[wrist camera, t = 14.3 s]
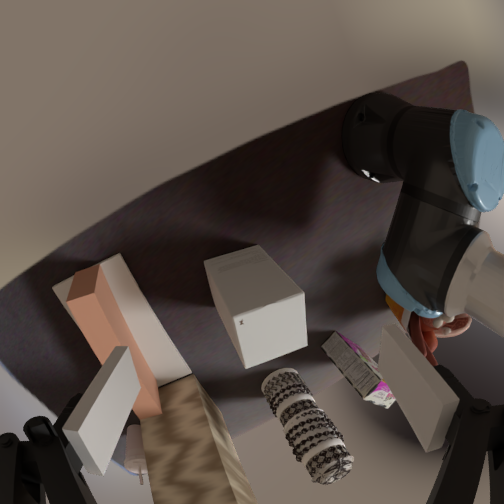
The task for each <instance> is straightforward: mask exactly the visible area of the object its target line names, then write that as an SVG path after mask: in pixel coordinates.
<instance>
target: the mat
mask: <svg viewBox="0 0 504 504" xmlns="http://www.w3.org/2000/svg"><path fill="white" fill-rule="evenodd" d="M98 264H100V266H101V268H102V270H103V273H104V275H105V278H106V280H107V282H108V284H109V287H110V289H111V291H112V293H113V296H114V298H115V300H116V302H117V304H118V307H119V309H120V311H121V313H122V315H123V317H124V319H125V321H126V323H127V325H128V327H129V329H130V331H131V333H132V335H133V337H134V339H135V341H136V343H137V345H138V347H139V349H140V351H141V353H142V355H143V356H144V358H145V360H146V362H147V364H148V366H149V367H150V369H151V371H152V373H153V375H154V376H155V378H156V380H157V386H158V387H159V386H161V385H164V384H166V383H169V382H171V381H174V380H176V379H178V378H181V377H183V376H186V375H188V374H190V373H192V371H191V369H190V368H189V366H188V365H187V363H186V362H185V360H184V359H183V357H182V356H181V354H180V353H179V351H178V350H177V348H176V347H175V345H174V344H173V342H172V341H171V339H170V337H169V336H168V334H167V333H166V331H165V329H164V328H163V326H162V325H161V323H160V321H159V320H158V318H157V317H156V315H155V313H154V312H153V310H152V308H151V307H150V305H149V303H148V302H147V300H146V298H145V296H144V295H143V293H142V291H141V290H140V288H139V286H138V284H137V283H136V281H135V279H134V277H133V275H132V274H131V272H130V270H129V268H128V266H127V265H126V263H125V261H124V259H123V257H122V255H121V253H118V254H116V255H114V256H112V257H110V258H108V259H106V260H104V261H102V262H100V263H98ZM98 264H96V265H98ZM94 266H95V265H94ZM89 268H90V267H89ZM73 278H74V276H72V277H70V278H68V279H66V280H64V281H62V282H60V283H58V284H56V285H54V286H53V287H52V289H53V291H54V292H55V294H56V295H57V297H58V298H59V300H60V301H61V303H62V304H63V306H64V307H65V309H66V310H67V311H68V313H69V314H70V316H71V317H72V319H73V320H74V321H75V323H76V324H77V322H76V320H75V318H74V316H73V314H72V312H71V311H70V309H69V307H68V305H67V303H66V300H67V297H68V294H69V290H70V287H71V284H72V281H73ZM77 326H78V327H79V325H78V324H77ZM79 328H80V327H79ZM80 330H81V329H80Z"/></svg>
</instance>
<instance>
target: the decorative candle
mask: <svg viewBox="0 0 504 504" xmlns="http://www.w3.org/2000/svg"><path fill="white" fill-rule="evenodd" d="M261 390H262V392H263V393H264V397H266V398H267V399H266V400H267V402H268V403H269V405H270V408H271V409H272V411H273V414H274V415H275V417H277V418H278V419H279V421H280V422H281V423H282V425H283V427H284V430H283V431H284V433H285V435H286V439H287V440H288V441H289V446H291V447H295V448H294V449H293V454H294V455H296V460H297V461H298V462H302V463H303V465H304V467H305V468H306V469H307V470H308V472H309V474H310V475H311V477H312V481H313V482H316V483H320V484H331V483H333V482H336V481H338V480H340V479H341V478H343V477H344V476H346V475H347V474H348V473H349V472H350V470H351V468H352V463H353V461H354V456H351V455H350V454H349V452H348V451H347V450H346V448H345V445H344V443H343V441H344V440H343V435H341V433H340V432H337V427H335V426H334V425H333V422H331V419H327V415H326V414H325V413H324V411H323V410H322V409H319V408H318V407H317V405H316V403H315V400H314V399H313V397H312V396H313V395H312V393H311V391H309V389H308V388H307V386H306V384H305V382H304V381H303V379H302V378H301V376H300V375H299V374H298V372H297V371H296V370H294V369H293V368H282V369H278V370H276V371H274V372H272V373H271V374H269V375H268V376H267V377H266V378H265V379H264V381H263V383H262V386H261ZM270 401H271V402H270ZM327 422H328V423H327ZM333 430H334V431H333ZM337 436H338V437H340V439H338V437H337Z"/></svg>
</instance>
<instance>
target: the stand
mask: <svg viewBox="0 0 504 504" xmlns="http://www.w3.org/2000/svg"><path fill="white" fill-rule="evenodd" d="M158 392H159V398H160V403H161V409H162V414H160V415H156V416H152V417H149V418H145V419H141V420H140V425H141V433H142V440H143V446H144V453H145V459H146V465H147V471H148V476H149V481H150V486H151V492H152V496H153V501H154V504H258V503H257V501H256V498H255V496H254V494H253V491H252V489H251V487H250V484H249V482H248V480H247V477H246V475H245V473H244V470H243V468H242V465H241V463H240V460H239V458H238V455H237V453H236V450H235V448H234V445H233V443H232V440H231V437H230V435H229V432H228V430H227V427H226V424H225V422H224V419H223V416H222V413H221V412H220V410H219V409H218V408H217V406H216V405H215V403H214V402H213V401H212V399H211V398H210V397H209V395H208V394H207V392H206V391H205V390H204V388H203V387H202V385H201V384H200V382H199V381H198V380H197V378H196V377H195V375H194V374H192V375H190V376H187V377H185V378H183V379H180V380H178V381H175V382H173V383H171V384H168V385H166V386H163V387H161V388H158Z"/></svg>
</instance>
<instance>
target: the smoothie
mask: <svg viewBox="0 0 504 504" xmlns="http://www.w3.org/2000/svg"><path fill="white" fill-rule="evenodd" d="M124 464H125V468H126V469H127V470H128V471H130V472H133V473H139V478H140V484H141V485H143V479H142V474H143V473H148V471H147V465H146V459H145V453H144V446H143V440H142V433H141V425H137V424H133V425H130V426H128V427H127V439H126V459H125V461H124Z"/></svg>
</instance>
